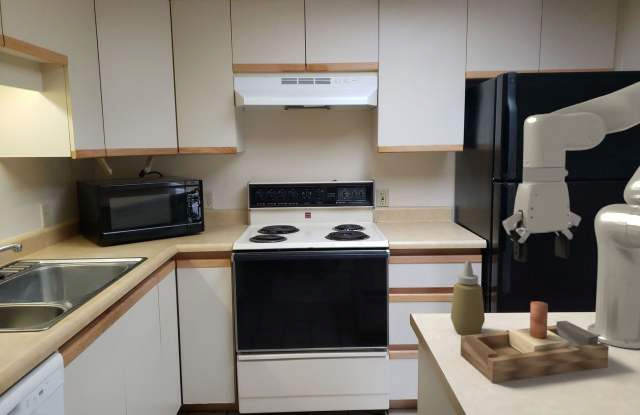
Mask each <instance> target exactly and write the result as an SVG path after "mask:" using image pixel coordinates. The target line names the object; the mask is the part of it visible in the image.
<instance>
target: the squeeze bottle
mask: <svg viewBox="0 0 640 415" xmlns="http://www.w3.org/2000/svg"><path fill="white" fill-rule="evenodd" d="M457 281H458V282H456V283H455V284H454V287H453V295H452V302H451V311H450V320H451V323H452V325H453V328H454V331H455V332H456V333H457V334H459V335H461V336H467V335H475V334H481V331H482V328H483V325H484V323H485V321H486V320H485V319H486V318H485V309H484V308H485V307H484V296H483V287H482V285H480V284H479V276H478V275H476V274H474V270H473V266H472V262H471V261H470V260H466V261H465V264H464V267H463V271H462V273H460V274H458V275H457Z"/></svg>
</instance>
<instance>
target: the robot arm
mask: <svg viewBox="0 0 640 415" xmlns="http://www.w3.org/2000/svg"><path fill="white" fill-rule="evenodd" d="M639 124H640V81H638V82H635V83H633V84H631V85H630V84H629V86H626V87H623V88H621V89H619V90H616V91H613V92H612V93H608V94H606V95H603V96H599V97H596V98H593V99H592V98H591V99H589V100H587V101H583V102H580V103H576V104H574V105H570V106H567V107H563V108H561V109H558V110H555V111H552V112H550V113H544V114H543V113H542V114H534V115H530V116H528V117H527V118H526V119H525V120H524V124H523V152H522V153H523V158H522V159H523V160H522V162H523V163H522V167H523V168H522V182H521V183H518V186H517V190H516V193H515V194H516V195H515V200H514V208H513V214H512V215H511V216H509V217H507V218H506V219H504V220H502V226H503V228H504V230H505V231H506V232H505V233H506V235H508V237H510V240H511V241H513V257H514V258H513V259H514V260H515V261H518V262H521V263H527V261H528V243H527V242H526V240H527V239H528V237H529V236H530V235H531V234H540V233H551V232H552V233H553V232H554V233H555V234H556V235H557V236H555V239H554V240H555V241H554V242H555V243H554V256H556V257H559V258H563V259H569V257H570V240H573V236H574V234H575V233H576V232H577V230H578V226H579V224H580V222H581V220H582V217H581V216H580V215H578V214H576V213H574V212H572V211H571V209H570V208H571V207H570V205H571V204H570V196H569V190H568V184H567V182H565V178H566V177H567V176H568V175H569V171H568V169H566V151H583V150H589V149H593V148H595V147H596V146H598V145H600V143H601V142H602V141H603V140H604V139H605V137H606V135H608V134H613V133H618V132H623V131H625V130H628V129H630V128H633V127H634V126H637V125H639ZM624 188H625V189H624V190H623V198H624V201H625V203H614V204H608V205H606V206H603V207H602V208H600V209H599V211H598V212H597V214H596V215H595V217H594V232H595V237H596V242H597V244H596V245H597V277H596V278H597V279H596V300H595V302H596V303H595V317H594V318H595V321H594V322H595V323H592V324H589V325H588V326H587V328H586V330H587V331H589V332H591V333H593V334H595V335H597V336H598V342H600V343H603V344H605V345H609V346H612V347H613V346H614V347H616V348H617V347H618V348H624V349H635V350H637V349H638V350H639V349H640V166H638V168H637V169H636V170H635V172H634V174H633V176H632V177H631V178H630V180H629V181H628V182H627V184H626V186H625V187H624Z"/></svg>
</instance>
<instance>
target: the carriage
mask: <svg viewBox="0 0 640 415" xmlns="http://www.w3.org/2000/svg"><path fill="white" fill-rule="evenodd" d="M548 306H549V304H548V303H546V302H544V301H537V300H536V301H531V302H530V309H529V310H530V312H529V313H530V316H529V317H530V318H529V327H528V328H519V329H517V328H516V329H511V330H508V331H509V345H511V346H512V347H514V348H515V349H517V350H518V351H520V352H521V353H528V352H536V351H544V350H552V349H559V348H567V347H568V346H569V341H567V340H565V339H563V338H562V337H560V336H558V335H556V334H554V333H552V332H551V331H549V330H547V326H548V312H549V311H548V308H549V307H548Z"/></svg>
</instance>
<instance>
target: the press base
mask: <svg viewBox="0 0 640 415" xmlns="http://www.w3.org/2000/svg"><path fill="white" fill-rule="evenodd" d="M547 330H549V331H551V332H552V333H554V334H556V335H558V336H560V337H562V338H563V339H565V340H567V341H569V346H568V347H567V348H559V349H552V350H544V351H536V352H528V353H521V352H520V351H518V350H517V349H515V348H514V347H512V346H511V345H509V330H504V331H503V330H502V331H495V332H484V333H480V334H475V335H467V336H466V335H461V336H460V356H461V358H463V359H465V360H466V361H467V362H468V363H469V364H470V365H471V366H472V367H474V368H475V369H476V370H477V371H478V372H479V373H480V374H482V376H484V377H485V378H486V380H488V381H490V382H491V383H492V384H494V383H495V384H496V383H504V382H511V381H517V380H518V381H519V380H524V379H530V378H537V377H545V376H552V375H560V374H566V373H572V372H574V373H575V372H581V371H586V370H588V371H589V370H595V369H596V370H597V369H602V368H608V364H609V349H610V348H609V346H610V345H609V346H608V344H606V343H603V342H600V343H599V341H598V336H597V335H595V334H593V333H591V332H589V331H587V329H584V328H582V327H581V326H579V325H576V324H574V323H572V322H570V321H568V320H560V321H556V324H554V325H553V324H552V325H547Z"/></svg>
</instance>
